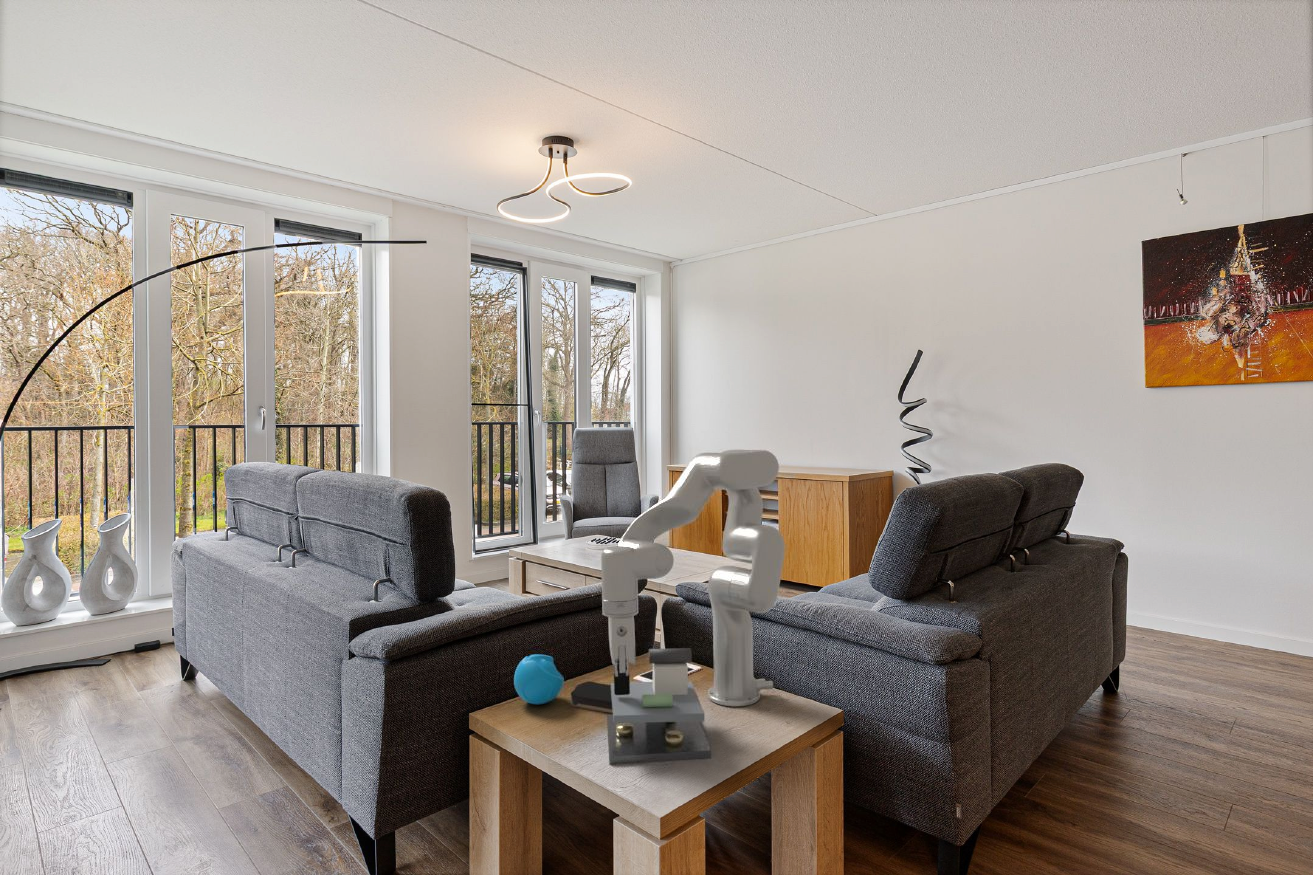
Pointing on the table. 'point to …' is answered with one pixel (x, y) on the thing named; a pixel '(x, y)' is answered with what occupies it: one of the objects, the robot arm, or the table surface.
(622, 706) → the plate
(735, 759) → the table surface
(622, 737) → the levelling stand
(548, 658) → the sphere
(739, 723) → the table surface
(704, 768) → the table surface
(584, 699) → the black sponge
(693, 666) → the cell phone
